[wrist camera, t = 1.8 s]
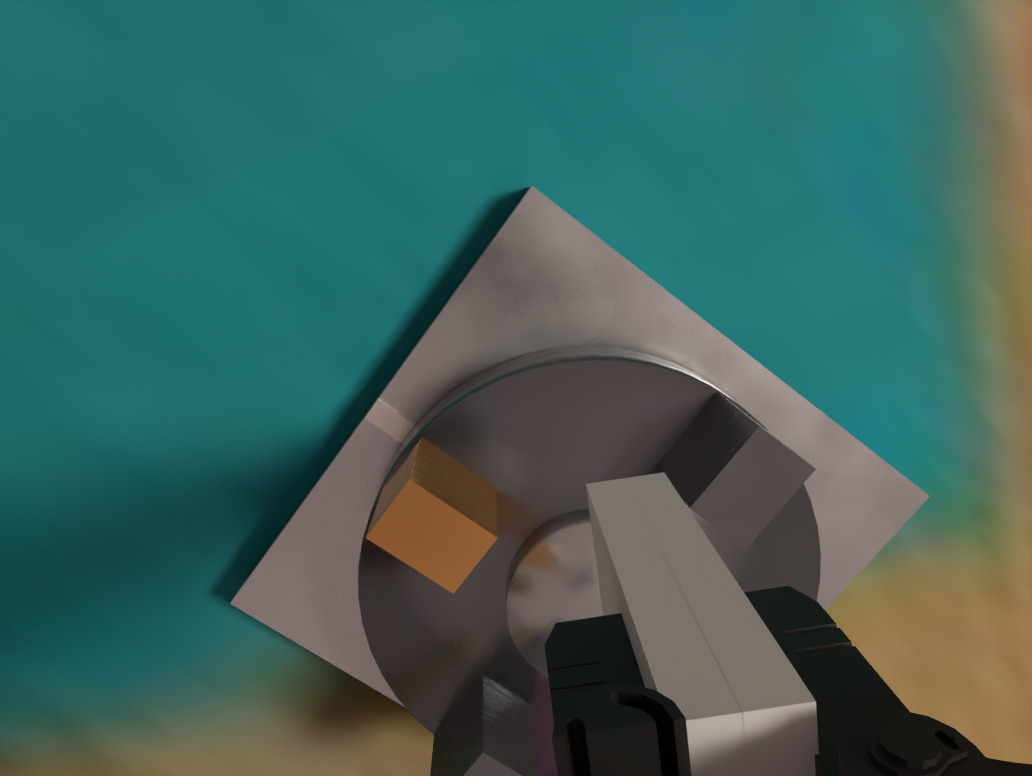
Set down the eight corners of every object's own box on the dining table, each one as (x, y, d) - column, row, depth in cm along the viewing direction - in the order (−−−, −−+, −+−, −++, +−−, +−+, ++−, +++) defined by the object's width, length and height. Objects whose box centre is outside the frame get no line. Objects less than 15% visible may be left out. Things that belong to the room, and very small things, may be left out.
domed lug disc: (286, 599, 26) (229, 712, 20) (542, 253, 23) (561, 270, 17) (614, 797, 28) (648, 947, 23) (876, 508, 26) (988, 595, 20)
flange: (243, 582, 27) (228, 605, 26) (529, 186, 24) (532, 185, 23) (612, 804, 31) (619, 836, 29) (906, 480, 27) (931, 497, 26)
